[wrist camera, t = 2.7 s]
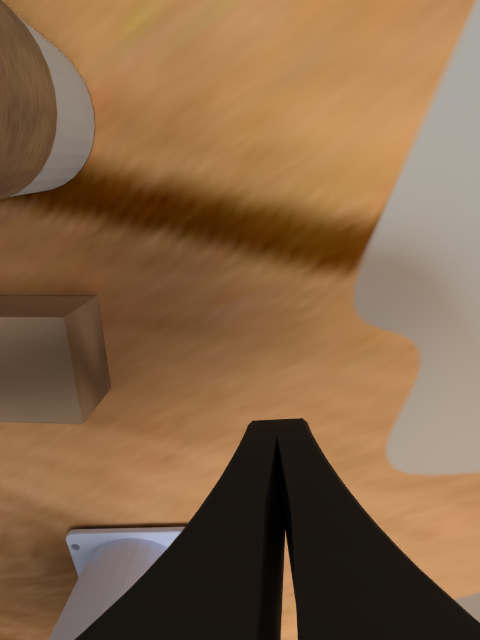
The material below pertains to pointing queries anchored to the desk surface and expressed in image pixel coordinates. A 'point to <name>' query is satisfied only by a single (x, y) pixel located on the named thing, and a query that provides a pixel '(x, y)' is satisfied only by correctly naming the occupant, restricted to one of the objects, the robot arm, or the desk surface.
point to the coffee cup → (39, 112)
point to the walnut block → (51, 358)
